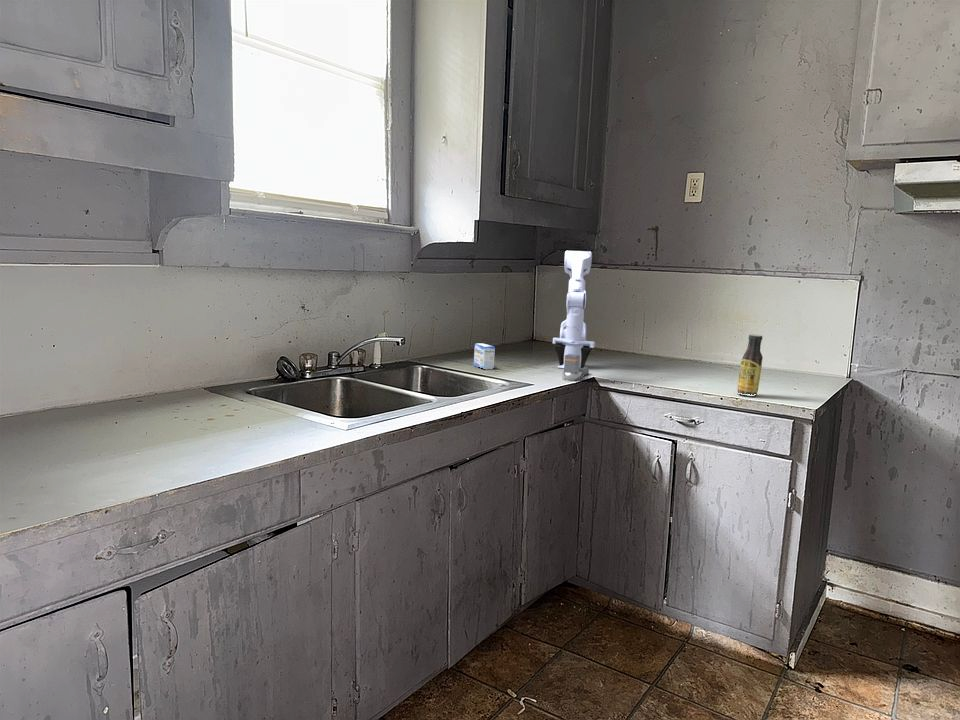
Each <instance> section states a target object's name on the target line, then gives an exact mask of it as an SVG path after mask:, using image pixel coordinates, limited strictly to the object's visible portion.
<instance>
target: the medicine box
mask: <svg viewBox="0 0 960 720" xmlns="http://www.w3.org/2000/svg"><path fill="white" fill-rule="evenodd" d="M495 349H496V347H495V345H494V346H493V345H490V344H486V343H483V342H482V343H480V342H479V343H475V344H474V351H473V352H474V353H473V355H474V356H473V367H474V366H477V367H480V368H483V369H493V368H494V367H495V355H496V354H495V353H496V352H495ZM477 367H476V368H477ZM480 368H479V369H480ZM483 369H482V370H483ZM493 370H494V369H493Z"/></svg>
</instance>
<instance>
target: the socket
mask: <svg viewBox="0 0 960 720" xmlns="http://www.w3.org/2000/svg"><path fill="white" fill-rule="evenodd" d="M579 362H580V355H574V354H567V355H565V362H564V368H563V371H564V373H571V374H576V373H578V372H579Z"/></svg>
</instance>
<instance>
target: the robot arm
mask: <svg viewBox="0 0 960 720" xmlns="http://www.w3.org/2000/svg"><path fill="white" fill-rule="evenodd" d="M592 254H593V252H591V251H590V250H589V251H585V250H584V251H583V250H566V251H565V252H564V264H563V265H564V268H563V269H564V273H566V274H568V275H569V278H570V279H568V291H567V294H566V303H565V304H566V306H565V307H566V319H565V320H563V321H561V324H560V329H559V330H560V331H559V337H553V338H552V345H553V344H554V349H555V352H556V354H557V358H558V362H559V363H558V364H559V365H558V366H557V368H559V369H564V362H565V355H567V354H574V355H580V362H579V367H581V368H584V367H586V363H587V360H588V358H589V355H590V353H591V351H592V350H593V348H595V347H596V346H595V342H596V341H591V340H587V324H586V322H584V318H585V317H584V316H585V315H584V314H585V309H586V306H587V305H586V304H587V291H586V280H585V279H584V276H586V275H588V274H589V273H590V272H591V267H592V258H593V255H592ZM583 307H584V308H583Z"/></svg>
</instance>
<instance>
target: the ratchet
mask: <svg viewBox="0 0 960 720" xmlns="http://www.w3.org/2000/svg"><path fill="white" fill-rule="evenodd" d="M589 370H590V367H587V366H585V367H584V368H581V367H579V372H578V373H576V374H571V373H564V370H563V371H562V380H563V379H564V380H563V381H566V380H568V381H567V382H578V381H577V380H579V381H580V380H581V379H580V378H581V377H580V376H583V375H585V374H587V373H588V374H589ZM588 374H587V375H588ZM585 376H586V375H585ZM583 377H584V376H583Z"/></svg>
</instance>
